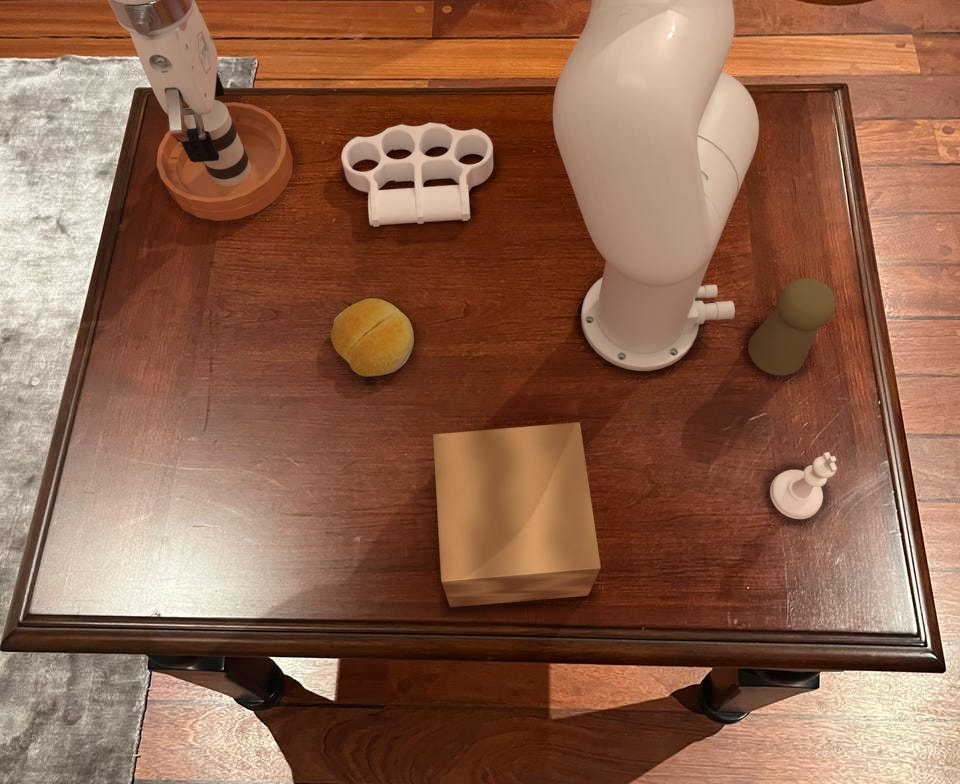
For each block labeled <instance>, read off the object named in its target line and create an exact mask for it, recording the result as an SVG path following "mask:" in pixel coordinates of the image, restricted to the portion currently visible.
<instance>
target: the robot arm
mask: <svg viewBox="0 0 960 784" xmlns="http://www.w3.org/2000/svg"><path fill="white" fill-rule="evenodd" d="M107 2H108V4H109V6H110V8H111V10H112V12H113V14H114V16H115V18H116V20H117V22H118V24H119V25H120V26H121V27H122V28H123V29H125V31H128V32H129V34H130V38H131V40H132V43H133V47H134V48H135V51H136V54H137V56H138V59H139V61H140V65H141V66H142V69H143V71H144V73H145V76H146V78H147V80H148V83H149V85H150V87H151V89H152V91H153V93H154V96H155V98H156V99H157V101H158V103H159V105H160V107H161V108H162V110H163V111H164V113H165V114H166V115H167V116H168V127H169V130H170V133H171V135H172V136H173V137H175V139H176V140H177V141H178V142H181V144H182V146H183V148H184V150H185V152H186V154H187V156H188V158H189V159H190V161H191V162H206V161H217V160H219V153H218V151H217V149H216V147H215V145H214V142H213V140H212V138H211V136H210V133H209V131H205V129H204V124H203V119H202V114H209V113H210V112H211V110H212V108H213V105H214V100H215V97H223V96H224V95H225V88H224V86H223V82H222V80H221V77H220V75H219V73H218V50H217V47H216V45H215V43H214V40H213V38H212V35H211V33H210V31H209V28H208V26H207V23H206V22H205V19H204V18H203V15H202V13H201V11H200V8H199V6H198V5H197V3H196V0H107ZM590 3H591V5H590V10H589V15H588V17H587V21H586V24H585V25H584V28H583V30H582V32H581V34H580V35H579V37H578V39H577V41H576V43H575V45H574V46H573V49H572V50H571V52H570V54H569V56H568V58H567V60H566V62H565V64H564V65H563V68H562V70H561V72H560V74H559V76H558V79H557V83H556V86H555V89H554V94H553V101H552V125H553V133H554V139H555V141H556V144H557V148H558V150H559V151H558V152H559V154H560V157H561V160H562V163H563V165H564V168H565V171H566V174H567V177H568V179H569V182H570V185H571V187H572V190H573V193H574V196H575V199H576V201H577V205H578V208H579V210H580V212H581V216H582V219H583V221H584V224H585V228H586V230H587V231H588V234H589V236H590V238H591V241H592V242H593V244H594V247H595V248H596V249H597V251H598V252H599V254H600V256H602V258H603V259H604V260H605V264H604V268H603V274H602V277H600V278H599V279H598V280H597V281H595V282H594V283H593V285H592V286H591V287H590V288H589V290H587V293H586V295H585V297H584V299H583V302H582V307H581V314H580V318H581V319H580V320H581V321H580V323H581V329H582V332H583V335H584V338H585V339H586V340H587V342H588V344H589V345H590V346H591V348H592V349H593V350H594V351H595V352H596V354H598V355H599V356H600V357H601V358H602V359H604V360H605V361H607V362H609V363H611V364H613V365H614V366H617V367H620V368H623V369H626V370H631V371H637V372H650V371H655V370H660V369H664V368H666V367H669V366H671V365H673V364H675V363H676V362H678V361H680V360H681V359H682V358H683V357H684V356H685V355H686V354H688V352H689V350H690V349H691V348H692V347H693V345H694V342H695V340H696V338H697V335H698V331H699V328H700V325H704V323H705V321H714V320H715V321H722V320H733V319H734V318H735V314H736V309H735V304H734V301H733V300H724V301H723V300H721V301H714V302H709V303H704V301H703V300H697V299H711V298H717V297H718V295H719V291H718V286H717V284H715V283H714V284H704V285H702V282H703V280H704V277H705V275H706V273H707V271H708V267H709V265H710V262H711V260H712V257H713V255H714V254H715V251H716V249H717V246H718V244H719V241H720V238H721V237H722V234H723V232H724V229H725V226H726V224H727V221H728V218H729V216H730V214H731V211H732V208H733V206H734V205H735V204H734V203H735V202H736V199H737V198H738V195H739V193H740V189H741V188H742V184H743V182H744V179H745V177H746V175H747V172H748V170H749V167H750V165H751V163H752V160H753V159H754V155H755V153H756V149H757V146H758V142H759V141H758V140H759V134H760V122H759V121H760V120H759V113H758V110H757V107H756V104H755V101H754V99H753V97H752V95H751V94H750V92H749V90H747V88H746V86H745V85H743V84H742V83H741V82H740V81H739V80H738V79H736V78H735V77H733V76H732V75H730V74H728V73H727V72H724V71H723V69H724V67H725V65H726V63H727V60H728V58H729V55H730V52H731V49H732V47H733V46H732V45H733V43H734V37H735V29H736V26H735V25H736V24H735V22H736V20H735V8H734V0H591V2H590ZM184 103H185V104H186V105H187V106H189V107H191V108H189V107H187V108H186V107H185V108H184ZM184 115H194V120H195V125H196V128H192V129H188V127H187V126H186V124H185V119H184Z"/></svg>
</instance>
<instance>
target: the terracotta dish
mask: <svg viewBox="0 0 960 784" xmlns="http://www.w3.org/2000/svg"><path fill="white" fill-rule="evenodd" d="M222 103H223V104H224V105H225V106H226V107H227V109H228V112H229V114H230V116H231V118H232V120H233V122H234V125H235V127H236V130H237V133H238V136H239V138H240V140H241V143H242V144H243V146H244V149H245V151H246V154H247V156H248V159H249V162H250V164H251V171H250V174H249V176H248V177H247V178H246V179H245V180H244V181H243V182H241V183H240V184H237V185H234V186H221V185H218V184H216V183H215V182H214V181H213V180H212V178H211V176H210V174H209V173H208V171H207V169H206V167H205V165H204V163H203V162H191V161H190V159H189V158H188V156H187V154H186V152H185V150H184V148H183V146H182V144H181V142H178V141H177V140H176V139H175V137H173V136H172V135H171V133H170V129H169V130H168V131H167V132H166V133H165V135H164V137H163V138H162V140H161V142H160V143H159V145H158V149H157V157H156V167H157V170H158V174H159V176H160V179H161V181H162V183H163V185H164V186H165V188H166V190H167V192H168V193H169V195H170V196H171V198H172V199H173V200H174V202H175V203H176V204H177V205H178V206H179V208H180V209H182V210H183V211H185V212H187V213H189V214H191V215H192V216H194V217H196V218H198V219H204V220H210V221H215V222H221V221H233V220H235V221H236V220H240V219H243V218H246V217H248V216H252V215H254V214H257V213H259V212H260V211H262V210H264V209H265V208H266V207H268V206H270V205H271V204H273V203H274V202H275V201H276V200H277V199H278V198H279V196H280V195H281V194H282V193H283V192H284V191H285V190H286V189H287V186H288V184H289V182H290V180H291V177H292V176H293V175H292V174H293V165H294V163H293V162H294V158H293V157H294V156H293V153H292V151H291V148H290V145H289V142H288V139H287V137H286V134H285V131H284V128H283V127H282V125H281V122H279V121H278V120H277V119H276V118H275V117H274V116H273V115H272V114H271V112H269V111H267V110H265V109H263V108H261V107H258V106H257V105H253V104H249V103H242V102H238V101H237V102H235V101H232V102H222Z"/></svg>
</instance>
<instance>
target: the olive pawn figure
mask: <svg viewBox="0 0 960 784" xmlns="http://www.w3.org/2000/svg"><path fill="white" fill-rule="evenodd" d="M836 306H837V302H836V297H835V295H834V293H833V291H832V288H830V286H828V285H827V283H825V282H823V281H822V280H820V279H816V278H812V277H802V278H797V279H794V280H792V281H791V282H789V283H788V284H786V285H785V286H784V288H783V289H782V290H781V292H780V293H779V295H778V299H777V308H775V309H774V311H773V312H772V313H771V314H770V315H768V317H767V318H766V319H765V320H764V322H762V324H761V325H760V326H759V327H758V328H757V329H756V330H755V331H754V332H753V333H752V335H751V336H750V337H749V340H748V344H747V349H748V355H749V357H750V359H751V361H752V362H753V363H754V365H755V366H756V367H757V368H758V369H760V370H761V371H763V372H765V373H768V374H769V375H773V376H788V375H792V374H794V373H796V372H797V371H799V370H800V369H801V368H802V366H803V365H804V363H805V362H806V359H807V357H808V354H809V352H810V349H811V347H812V344H813V343H814V340H815V337H816V335H817V332H818V330H819V329H820V328H822V327H824V326H826V325H827V324H828V323H829V321H830V320H831V319H832V317H833V316H834V314H835V310H836Z"/></svg>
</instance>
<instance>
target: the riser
mask: <svg viewBox="0 0 960 784" xmlns="http://www.w3.org/2000/svg"><path fill="white" fill-rule="evenodd" d="M432 441H433V442H432V443H433V458H434V459H433V461H434V474H435V475H434V478H435V494H436V512H437V515H436V516H437V531H438V547H439V548H438V549H439V564H440V581H441V584H442V588H443V591H444V593H445V596H446V599H447V602H448V605H449V607H450V608H459V607H471V606H480V605H483V606H484V605H493V604H494V605H495V604H503V603H506V604H507V603H517V602H528V601H529V602H530V601H542V600H551V599H552V600H553V599H563V598H576V597H588V596H589V594H590V592H591V590H592V588H593V585H594V584H595V581H596V579H597V577H598V575H599V572H600V571H601V568H602V566H601V559H600V553H599V546H598V539H597V531H596V524H595V518H594V517H595V516H594V511H593V504H592V497H591V490H590V484H589V483H590V482H589V477H588V469H587V468H588V467H587V461H586V456H585V455H586V454H585V448H584V441H583V435H582V428H581V423H580V422H577V421H576V422H566V423H565V422H564V423H554V424H543V425H540V424H539V425H530V426H516V427H506V428H505V427H504V428H493V429H492V428H491V429H482V430H470V431H469V430H468V431H457V432H446V433H433V434H432Z"/></svg>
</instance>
